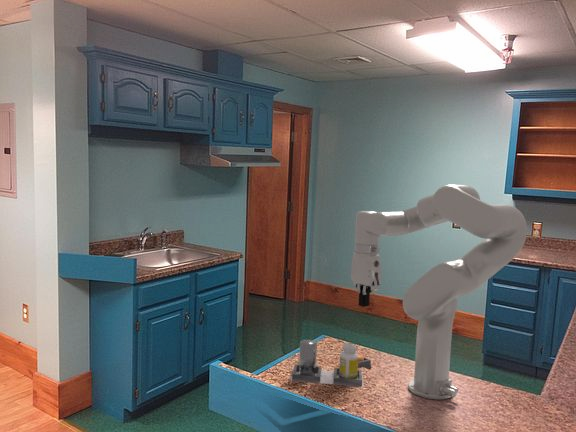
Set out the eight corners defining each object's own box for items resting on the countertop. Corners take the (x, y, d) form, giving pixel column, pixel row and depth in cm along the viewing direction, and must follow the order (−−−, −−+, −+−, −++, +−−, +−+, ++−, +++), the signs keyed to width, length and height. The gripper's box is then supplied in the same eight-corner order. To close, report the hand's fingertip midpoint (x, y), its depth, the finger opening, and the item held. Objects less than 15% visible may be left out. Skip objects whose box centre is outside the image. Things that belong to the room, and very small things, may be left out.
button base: (371, 368, 158) (371, 360, 158) (356, 371, 155) (357, 363, 155) (359, 361, 163) (359, 354, 163) (344, 364, 160) (345, 357, 160)
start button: (366, 363, 158) (366, 357, 158) (357, 364, 156) (357, 358, 156) (358, 359, 161) (359, 353, 161) (350, 361, 159) (350, 355, 159)
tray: (362, 377, 150) (362, 368, 150) (363, 390, 140) (364, 381, 140) (293, 371, 152) (293, 363, 152) (290, 384, 142) (290, 375, 142)
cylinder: (318, 376, 146) (320, 343, 145) (304, 379, 143) (306, 346, 143) (309, 370, 150) (310, 338, 150) (295, 373, 148) (296, 340, 147)
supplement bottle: (358, 376, 147) (360, 344, 147) (355, 383, 142) (357, 350, 141) (341, 373, 149) (342, 342, 148) (336, 380, 144) (338, 347, 143)
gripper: (391, 252, 154) (388, 309, 155) (359, 246, 167) (357, 299, 168) (373, 253, 150) (371, 312, 151) (342, 247, 163) (340, 302, 164)
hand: (363, 305), depth 160 cm, fingers closed
